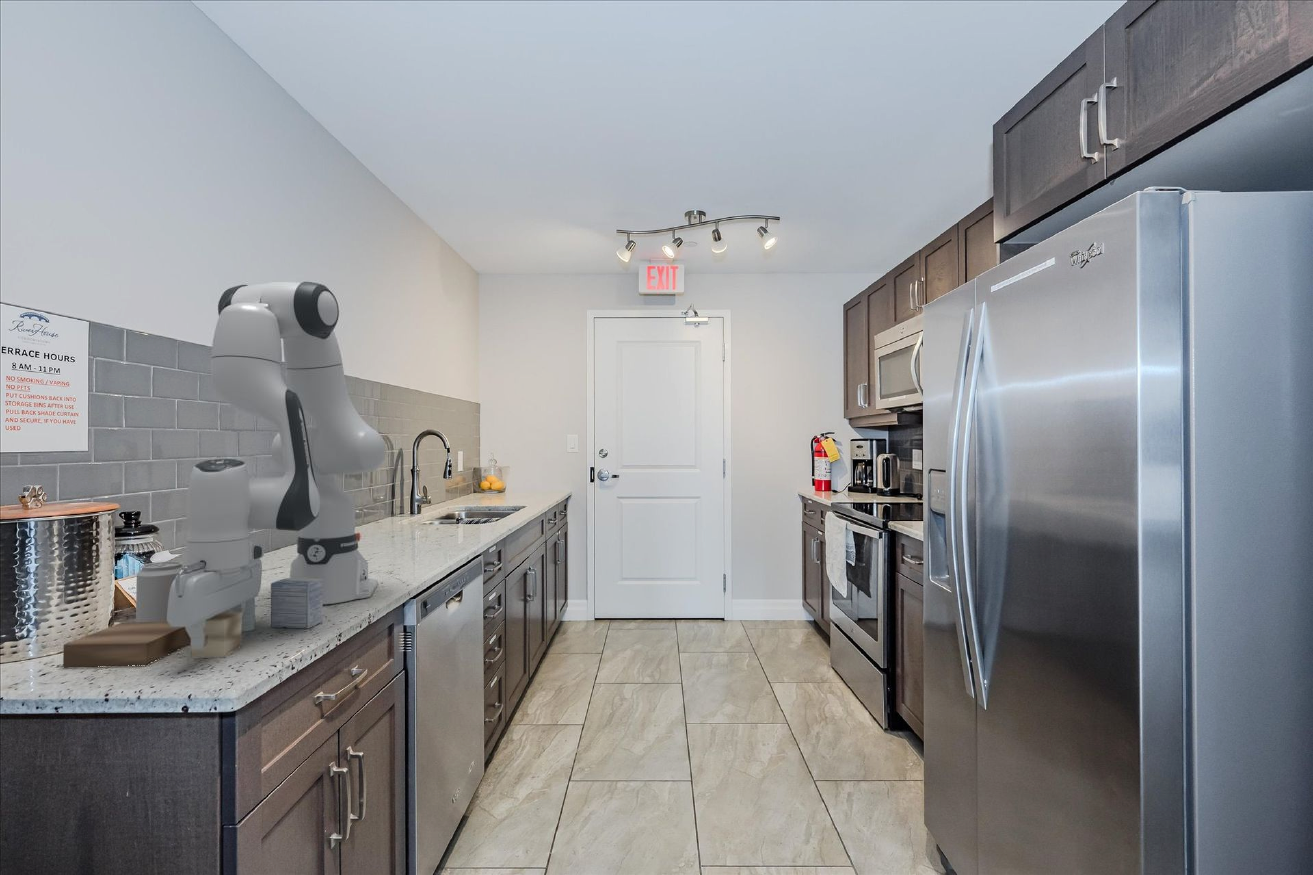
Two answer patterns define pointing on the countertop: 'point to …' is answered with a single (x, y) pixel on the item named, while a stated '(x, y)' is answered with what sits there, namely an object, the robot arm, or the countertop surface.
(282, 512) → the robot arm
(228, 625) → the maple block
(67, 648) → the walnut block
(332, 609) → the countertop surface
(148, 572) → the can
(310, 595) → the medicine box
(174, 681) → the countertop surface
